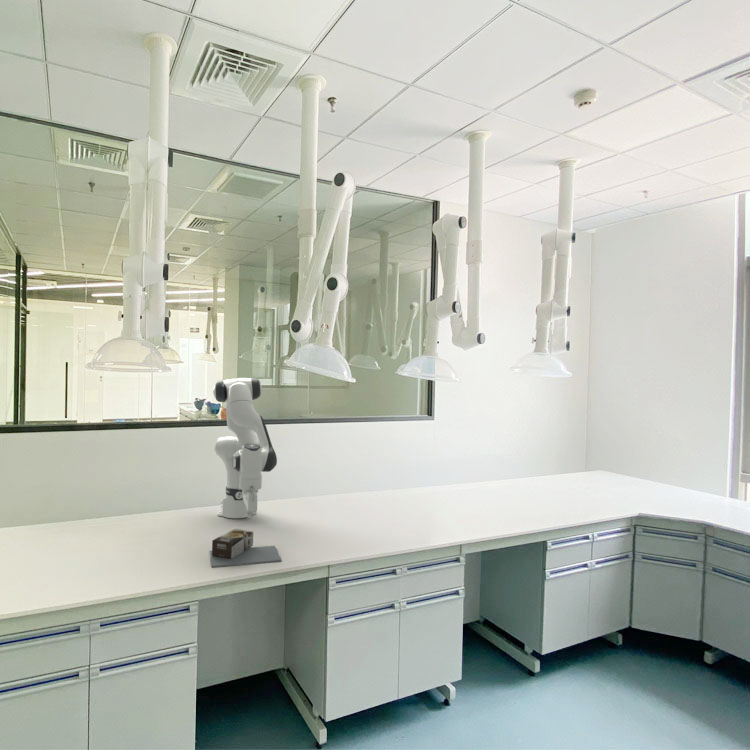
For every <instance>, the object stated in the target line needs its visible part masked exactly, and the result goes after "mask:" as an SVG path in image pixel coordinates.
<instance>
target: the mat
mask: <svg viewBox="0 0 750 750" xmlns="http://www.w3.org/2000/svg"><path fill="white" fill-rule="evenodd" d="M209 556H210V563H211V564H210V566H211V568H220V567H222V568H223V567H234V566H235V567H236V566H244V565H245V566H246V565H255V564H266V563H267V562H268V563H277V561H279V562H278V563H280V562H282V558H281V555H280V554H279V551H278V549H277V547H276V545H265V546H264V545H263V546H252V547H250V548H249V549H247V550H245V551H244V552H242V553H240V554H239V555H237V556H235V557H234V558H232V559H227V558H222V557H217V556H212V550H209Z"/></svg>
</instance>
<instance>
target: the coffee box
mask: <svg viewBox="0 0 750 750" xmlns="http://www.w3.org/2000/svg"><path fill="white" fill-rule="evenodd" d="M254 534H255V533H254V531H252V530H246V529H239V528H233V529H232V530H229V531H227V532H225V533H224V534H222V535H220V536H218V537H216V538H214V539H213V540H212V541H211V542H212V543H211V546H212V547H211V551H212V556H217V557H222V558H227V559H232V558H234V557H235V556H237V555H239V554H240V553H242V552H244V551H245V550H247V549H249V548H251V547H254V536H255V535H254Z"/></svg>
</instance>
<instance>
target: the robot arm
mask: <svg viewBox="0 0 750 750" xmlns="http://www.w3.org/2000/svg"><path fill="white" fill-rule="evenodd" d="M262 387H263V386H262V384H261V382H260V380H259V378H256V377H249V378H248V377H237V378H230V379H224V380H223V379H222V380H221V379H220V380H217V381H216V382H215V383H214V386H213V390H212V391H213V392H212V393H213V397H214V399H215V400H216V401H217V402H219V403H225V413H226V426H227V428H228V430H230V431H231V432H233V433H234V434H235V435H236V436H231V435H226V436H220V437H219V438H217V440H216V441H215V444H214V451H215V453H216V455H217V456H219V458H220V459H221V460H222V462H223V464H224V466H225V468H226V487H225V496H224V497H223V498H222V499H221V500H220V504H221V506H220V509H219V510H218V512H217V516H219V517H223V518H228V519H244V518H247V519H249V520H250V519H252V517H253V515H256V514H257V512H258V493H259V490H261V489H262V486H263V485H262V483H263V482H262V481H263V479H262V478H263V475H262V473H263V472H264V473H266V472H267V473H269V472H271V471H272V470H273V469H275V467H276V466H277V464H278V458H277V454H276V451H275V449H274V448H273V444H272V441H271V437H270V434H269V431H268V429H267V425H266V422H265V420H264V418H263V416H261V414H258V412H257V411H256V409H255V405H254V400H257V399H259V398H260V397H261V394H262V389H263V388H262Z"/></svg>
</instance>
